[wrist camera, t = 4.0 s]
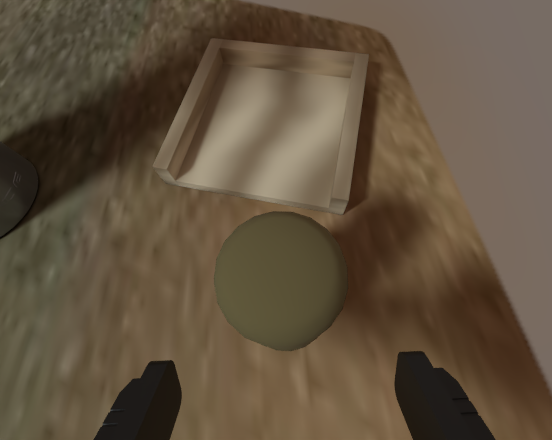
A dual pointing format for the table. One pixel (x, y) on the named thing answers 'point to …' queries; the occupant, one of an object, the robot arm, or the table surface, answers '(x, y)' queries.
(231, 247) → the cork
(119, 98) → the table surface
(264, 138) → the beige square tray
